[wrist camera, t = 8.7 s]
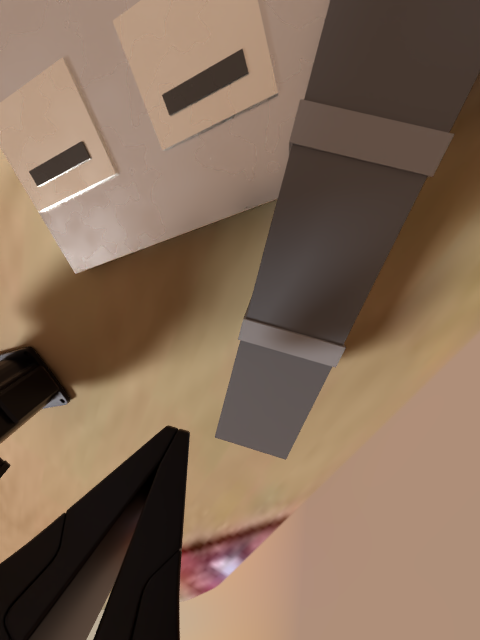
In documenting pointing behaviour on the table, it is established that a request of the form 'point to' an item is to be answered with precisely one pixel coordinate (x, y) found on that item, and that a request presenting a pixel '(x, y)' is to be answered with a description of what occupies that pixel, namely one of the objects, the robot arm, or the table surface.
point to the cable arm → (345, 198)
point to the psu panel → (150, 112)
